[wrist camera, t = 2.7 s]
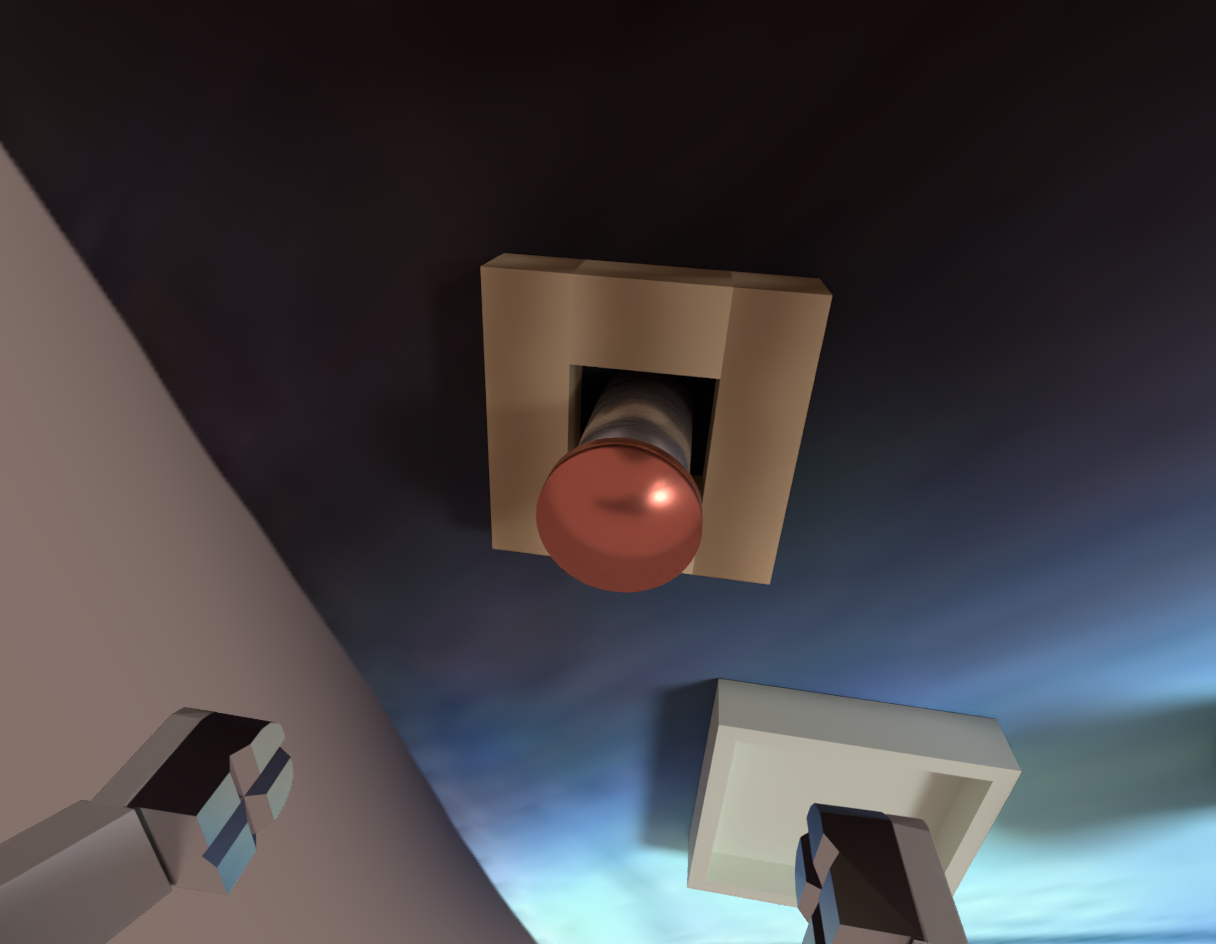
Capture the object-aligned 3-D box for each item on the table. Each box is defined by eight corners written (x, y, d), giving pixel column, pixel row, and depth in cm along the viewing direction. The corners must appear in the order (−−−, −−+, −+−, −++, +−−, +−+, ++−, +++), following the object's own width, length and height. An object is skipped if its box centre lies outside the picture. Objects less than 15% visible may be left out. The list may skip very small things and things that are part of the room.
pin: (712, 359, 21) (712, 460, 15) (697, 470, 23) (691, 602, 17) (588, 348, 22) (535, 440, 15) (584, 457, 24) (536, 581, 17)
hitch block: (819, 278, 20) (832, 295, 17) (764, 545, 24) (769, 584, 22) (504, 253, 21) (480, 266, 18) (510, 514, 25) (492, 548, 23)
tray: (996, 719, 27) (1021, 771, 24) (918, 877, 32) (933, 932, 30) (718, 678, 28) (718, 725, 26) (688, 838, 33) (687, 887, 31)
